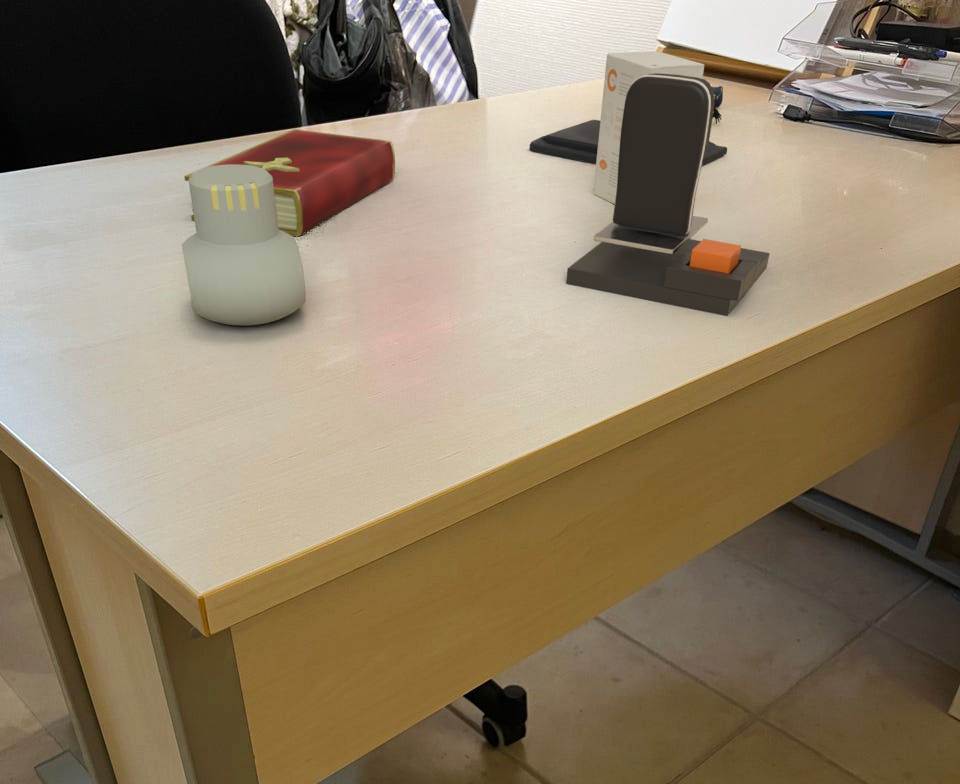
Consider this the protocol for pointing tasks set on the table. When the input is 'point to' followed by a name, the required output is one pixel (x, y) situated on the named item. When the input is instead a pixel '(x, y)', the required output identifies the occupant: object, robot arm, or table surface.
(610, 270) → the scale
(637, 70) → the small box
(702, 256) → the button
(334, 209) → the hardcover book
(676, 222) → the battery charger
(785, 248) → the table surface
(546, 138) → the wallet
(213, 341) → the table surface
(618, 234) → the weighing plate
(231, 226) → the air freshener
